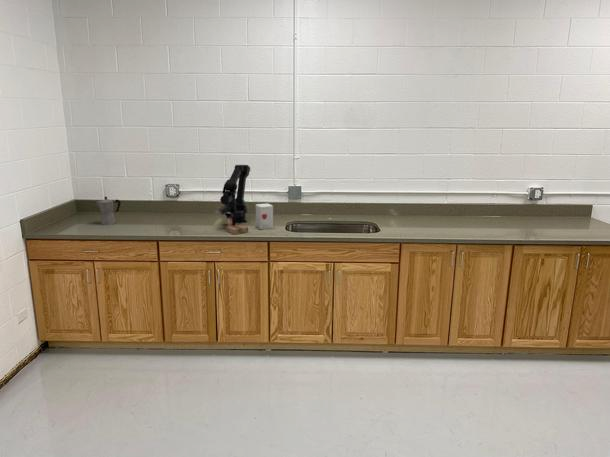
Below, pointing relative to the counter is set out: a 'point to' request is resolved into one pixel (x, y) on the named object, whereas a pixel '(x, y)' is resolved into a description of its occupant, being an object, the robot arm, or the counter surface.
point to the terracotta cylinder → (230, 221)
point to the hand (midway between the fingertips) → (231, 225)
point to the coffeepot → (107, 210)
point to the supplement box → (264, 216)
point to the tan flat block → (237, 229)
